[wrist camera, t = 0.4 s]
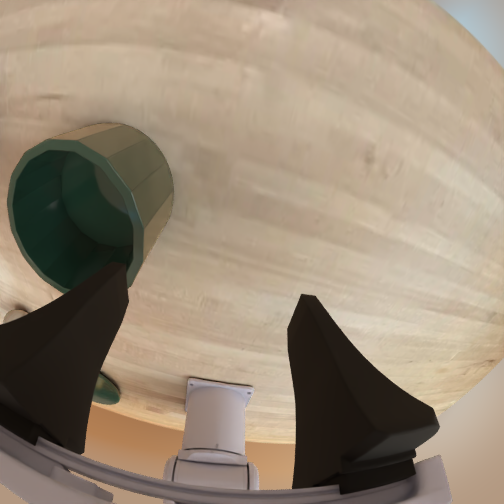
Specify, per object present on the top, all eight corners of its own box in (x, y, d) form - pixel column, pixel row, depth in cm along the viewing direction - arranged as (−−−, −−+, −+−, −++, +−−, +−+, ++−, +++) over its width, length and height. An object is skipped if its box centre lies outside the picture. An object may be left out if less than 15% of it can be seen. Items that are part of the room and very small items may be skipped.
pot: (167, 260, 22) (144, 316, 16) (63, 237, 20) (22, 280, 15) (184, 130, 17) (151, 147, 11) (60, 120, 15) (2, 139, 10)
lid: (125, 405, 36) (119, 429, 32) (68, 386, 35) (59, 407, 31) (115, 370, 30) (105, 399, 26) (49, 347, 29) (36, 371, 25)
